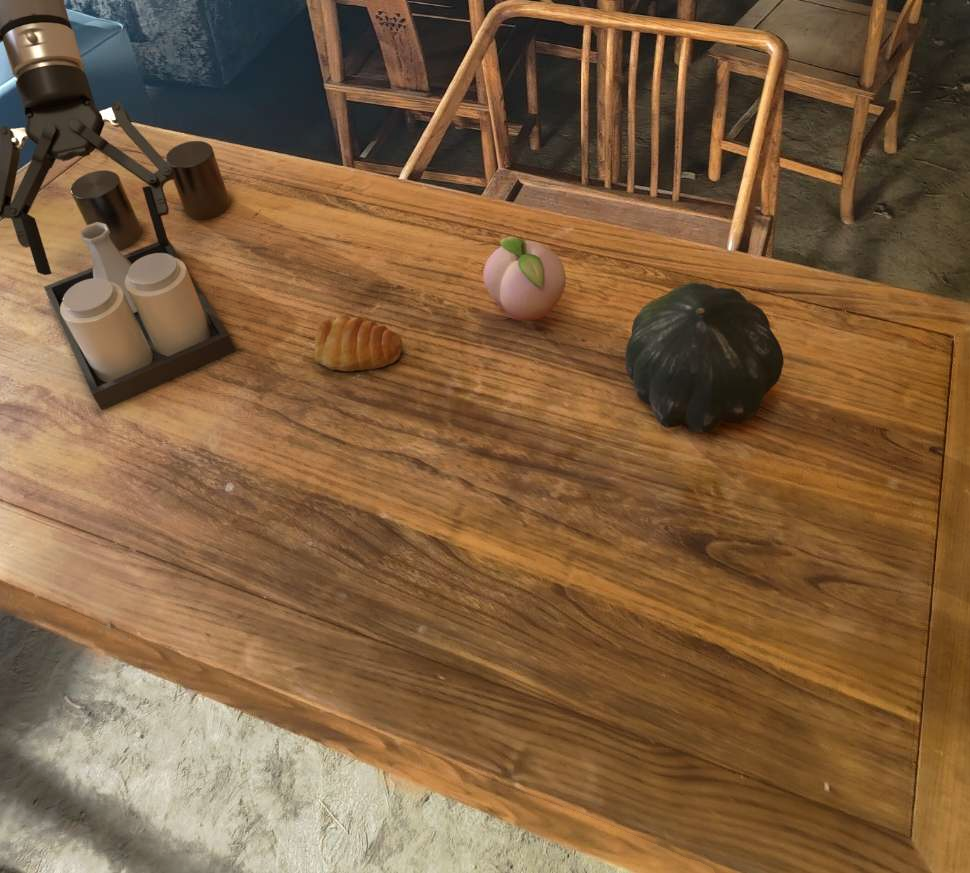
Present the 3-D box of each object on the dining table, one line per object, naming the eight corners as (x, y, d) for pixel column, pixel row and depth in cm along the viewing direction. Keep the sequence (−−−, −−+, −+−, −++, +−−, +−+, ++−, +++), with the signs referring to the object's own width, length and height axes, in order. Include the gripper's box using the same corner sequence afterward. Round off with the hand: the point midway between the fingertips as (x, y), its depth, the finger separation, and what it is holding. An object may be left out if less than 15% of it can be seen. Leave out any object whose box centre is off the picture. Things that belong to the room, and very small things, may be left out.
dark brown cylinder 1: (90, 233, 122) (64, 181, 116) (134, 216, 123) (111, 164, 117) (103, 257, 118) (77, 204, 112) (148, 239, 120) (125, 186, 114)
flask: (118, 327, 108) (83, 259, 100) (84, 303, 111) (48, 235, 104) (168, 294, 111) (139, 226, 104) (134, 271, 115) (103, 203, 107)
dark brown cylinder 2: (179, 204, 125) (159, 151, 118) (221, 188, 126) (203, 135, 120) (194, 225, 121) (174, 173, 115) (237, 209, 123) (219, 156, 117)
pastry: (408, 334, 104) (403, 309, 101) (396, 378, 100) (390, 353, 97) (328, 330, 106) (321, 305, 103) (312, 373, 101) (304, 348, 99)
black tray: (52, 303, 113) (43, 286, 111) (174, 254, 117) (167, 237, 115) (101, 410, 100) (92, 394, 98) (235, 351, 105) (229, 334, 103)
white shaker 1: (87, 357, 105) (49, 289, 98) (142, 333, 107) (109, 265, 99) (103, 392, 101) (64, 324, 94) (160, 367, 103) (127, 298, 96)
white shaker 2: (146, 332, 107) (113, 264, 100) (200, 309, 109) (171, 241, 101) (164, 365, 103) (131, 297, 96) (219, 341, 105) (191, 272, 98)
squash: (741, 283, 97) (671, 228, 86) (834, 375, 89) (769, 328, 78) (648, 379, 102) (570, 339, 91) (727, 476, 94) (651, 444, 83)
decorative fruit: (582, 319, 104) (583, 247, 96) (523, 352, 101) (519, 280, 94) (532, 277, 109) (529, 206, 102) (475, 307, 106) (467, 236, 99)
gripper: (-80, 87, 99) (-20, 281, 101) (154, 39, 103) (208, 227, 105) (-50, 109, 107) (5, 288, 109) (166, 63, 110) (216, 238, 112)
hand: (105, 259), depth 107 cm, fingers open, 13 cm apart
